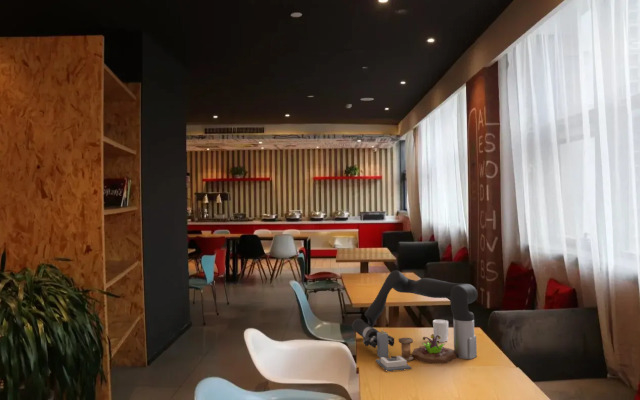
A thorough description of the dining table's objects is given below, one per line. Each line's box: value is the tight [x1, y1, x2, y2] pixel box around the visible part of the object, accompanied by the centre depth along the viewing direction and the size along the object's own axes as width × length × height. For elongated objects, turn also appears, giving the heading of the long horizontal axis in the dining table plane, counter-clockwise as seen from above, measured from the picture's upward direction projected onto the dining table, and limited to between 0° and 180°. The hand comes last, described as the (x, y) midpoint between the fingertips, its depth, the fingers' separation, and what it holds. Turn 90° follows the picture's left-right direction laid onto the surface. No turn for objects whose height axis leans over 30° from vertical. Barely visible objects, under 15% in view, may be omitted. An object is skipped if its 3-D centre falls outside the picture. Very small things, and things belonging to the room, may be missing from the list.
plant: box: [411, 333, 457, 365], centre depth 222 cm, size 20×20×11 cm
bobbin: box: [390, 337, 414, 362], centre depth 220 cm, size 10×6×9 cm, turn 43°
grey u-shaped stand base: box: [375, 355, 412, 372], centre depth 210 cm, size 14×11×3 cm
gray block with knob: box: [376, 329, 389, 359], centre depth 223 cm, size 4×4×13 cm
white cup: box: [432, 319, 449, 343], centre depth 248 cm, size 8×8×10 cm
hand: (384, 344), depth 221 cm, fingers open, 8 cm apart
